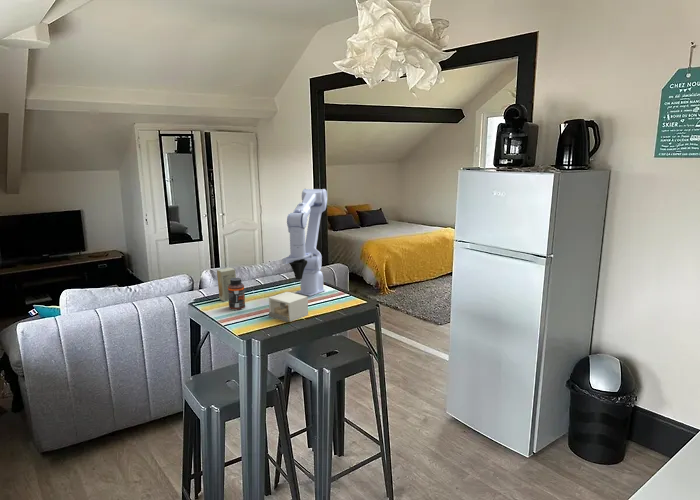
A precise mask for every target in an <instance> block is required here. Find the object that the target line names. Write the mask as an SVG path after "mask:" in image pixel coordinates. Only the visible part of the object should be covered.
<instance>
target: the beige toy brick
mask: <svg viewBox="0 0 700 500" xmlns="http://www.w3.org/2000/svg"><path fill="white" fill-rule="evenodd" d="M275 313H276V314H279V315H283V316H286V317H289V310H288V305H286V304H285V303H280V307H277V308H275Z"/></svg>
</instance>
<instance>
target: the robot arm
mask: <svg viewBox="0 0 700 500" xmlns="http://www.w3.org/2000/svg"><path fill="white" fill-rule="evenodd" d="M301 201H302V202H299V203H298V204H297V206H295V209H294V210H293V212H290V213H288V215H287V217H286V226H287V231H288V233H289V247H290V248H289V251H290V253H289V255H288V256H287V257H284V258H282V264H283V265H288V264H289V266H291V269H292V271H293V273H294V276H295V277H294V278H295V280H299V281H300V282H299V283H300V290H297V291H295V294H299V295H303V296H307V297H308V296H309V297H312V296H313V295H314V296H315V295H317V294H320V293H323V292H326V289H324V275H323V272H322V271H321V270H322V264H323V263H322V261H323V259H322V258H323V256H322V254H321V252H320V251H319V250H318V249H317V245H318V240H319V231H320V226H321V225H320V224H321V218H322V213H323V212H325V211H326V209H327V205H328V191H327V190H326V188H322V189H321V188H304V189H302V192H301ZM306 227H307V231H306V230H305V228H306Z"/></svg>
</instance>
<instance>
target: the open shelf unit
mask: <svg viewBox="0 0 700 500" xmlns="http://www.w3.org/2000/svg"><path fill="white" fill-rule="evenodd" d="M308 298H309V297H308V295H304V294H299V293H296V292H295V293H294V292H290V291H285V292H282V293H278V294H276V295H273V296H269V297H268V306H269V312H268V317H269V318H273V319H276V320H279V321H282V322H286V323H289V322H294V321H296V320H298V319H301V318H303V317H306V316H309V305H308V304H309V302H308V301H309V299H308ZM280 303H285V304H286V305H288V310H289V316H287V317H286V316H283V315H279V314H276V313H275V308H277V307H280Z"/></svg>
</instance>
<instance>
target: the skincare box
mask: <svg viewBox="0 0 700 500" xmlns="http://www.w3.org/2000/svg"><path fill="white" fill-rule="evenodd" d="M236 274H237V273H236V269H235V268H233V267H225V268H221V269H217V270H216V275H217V288H218V299H219V300H221V301H222V302H227V301H228V302H229V295H228V286H229V285H230V284H231V283H230V279H232V278H237V275H236Z"/></svg>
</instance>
